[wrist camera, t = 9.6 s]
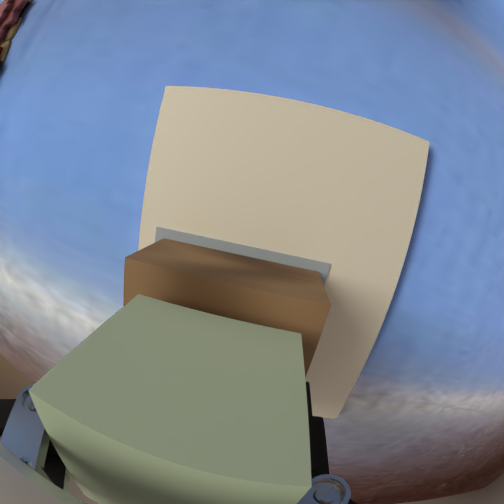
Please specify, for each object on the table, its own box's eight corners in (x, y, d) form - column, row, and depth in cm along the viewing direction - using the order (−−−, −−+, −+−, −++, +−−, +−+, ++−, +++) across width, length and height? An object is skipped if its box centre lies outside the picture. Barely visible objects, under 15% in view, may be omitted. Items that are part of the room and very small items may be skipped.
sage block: (301, 333, 9) (311, 487, 4) (263, 436, 11) (249, 547, 5) (138, 293, 10) (28, 390, 4) (140, 403, 11) (85, 495, 5)
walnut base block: (318, 271, 14) (331, 304, 10) (280, 391, 16) (278, 439, 12) (163, 238, 14) (125, 257, 10) (155, 361, 16) (128, 400, 12)
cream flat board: (424, 143, 12) (430, 141, 11) (335, 413, 17) (336, 420, 16) (170, 89, 13) (165, 85, 12) (140, 370, 17) (136, 376, 17)
